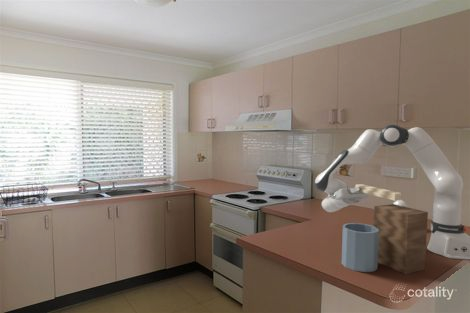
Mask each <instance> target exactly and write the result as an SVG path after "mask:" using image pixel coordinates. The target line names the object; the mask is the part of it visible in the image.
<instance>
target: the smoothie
mask: <svg viewBox="0 0 470 313" xmlns="http://www.w3.org/2000/svg"><path fill="white" fill-rule="evenodd" d="M392 204H395V205H399V206H404V207H408V205H407V203H406V201H404V200H403V199H401V200H396V201H394V202H393V203H392ZM408 208H409V207H408Z"/></svg>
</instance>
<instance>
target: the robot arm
mask: <svg viewBox="0 0 470 313" xmlns="http://www.w3.org/2000/svg"><path fill="white" fill-rule="evenodd" d="M402 145H403V146H405V147H407V149H408V150H409V151H410V153H411V154H412V155H413V157H414V158H415V160H416V161H417V163H418V164H419V166H420V167H421V168H422V170H423V171H424V173H425V175H426V177H427V178H428V179H429V181H430V182H431V184H432V185H433V187H434V191H433V192H434V193H433V203H432V204H433V205H432V206H433V208H432V220H431V222H430V238H429V240H428V241H429V242H428V244H427V246H426V250H428V251H429V252H432V253H434V254H437V255H439V256H443V257H446V258H448V259H457V260H468V261H469V260H470V235H469V234H467V232H469V231H470V229H469V227H468V226H465V225H463V224H462V223H461V220H462V203H463V202H462V199H463V188H464V181H463V178H462V175H460V173H458V172H457V171H456V169H455V167H454V166H453V165H452V164H451V162H450V161H449V160H448V158H447V157H446V155H445V154H444V152H443V151H442V150H441V149H440V147H439V145H438V144H437V143H436V142H435V140H434V139H433V138H432V137H431V136H430V135H429V133H428V132H426V131H425V130H424V129H423V128H422V127H417V126H414V127H410V129H406V128H404V127H401V125H397V124H389V125H386V126H384V127H383V128H382V129H381V131H378V130H376V129H372V128H371V129H369V128H368V129H366V130H365V131H363V133H361V135H360V136H359V137H358V138H357V140H356V141H355V143H354V144H353V145H352V146H351V147H350V148H348V149H345V150H342V151H341V152H339V153H338V154H337V156H336V157H335V158H333V160H332V161H331V162H330V163H329V164H328V165H327V166H326V168H325V169H323V171H321V172H320V173H319V174H317V176H316V177H315V179H314V185H315V187H316V189H317V190H318V191H321V192H323V193H326V194H327V196H326V197H325V198H324V199H322V201H321V207H322V209H323V210H324V211H326V212H327V213H334V212H338V211H339V210H341V209H343V208H346V207H348V206H351V205H353V204H355V203H359V202H362V200H364V199H366V198H367V197H369V196H371V195H370V194H367V193H363V192H359V191H360V190H361V187H356V188H355V187H353V188H351V187H350V188H349V186H348V184H347V183H346V182H344V181H342V180H340V179H338V178H336V177H334V176H333V175H334V174H335V173H336V172H337V171H338V170H339V169H340V167H341V166H343V165H345V164H353V165H363V164H366V163H367V162H369V161H370V160H371V159H372V157H373V155H375V153H376V151H377V150H378V149H379V147H381V146H382V147H383V146H384V147H388V148H393V149H394V148H398V147H400V146H402Z"/></svg>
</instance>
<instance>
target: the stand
mask: <svg viewBox="0 0 470 313" xmlns="http://www.w3.org/2000/svg"><path fill="white" fill-rule="evenodd" d="M373 208H374V209H373V210H374V211H373V226H374V227H376V228H378V230H379V242H378V263H379V264H381V265H384V266H385V267H388V268H390V269H392V270H395V271H397V272H400V273H402V274H404V275H407V274H412V273H416V272H419V271H424V270H425V269H426V256H427V255H426V252H427V239H428V238H427V236H428V235H427V233H428V216H429V212H428V211H425V210H421V209H416V208H412V207H404V206H399V205H395V204H393V203H391V204H383V205H374V207H373Z"/></svg>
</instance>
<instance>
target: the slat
mask: <svg viewBox="0 0 470 313" xmlns="http://www.w3.org/2000/svg"><path fill="white" fill-rule="evenodd" d="M356 187H361V190H360V191H359V192H363V193H367V194H370V195H369V196H375V197H379V198H383V199H386V200H391V201H394V202H395V201H396V200H402V193H401V192H399V191H393V190H389V189H385V188H379V187H376V186H373V185H372V186H371V185H368V184H367V185H366V184H362V183H361V184H360V183H359V184H355V185H354V188H356Z"/></svg>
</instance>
